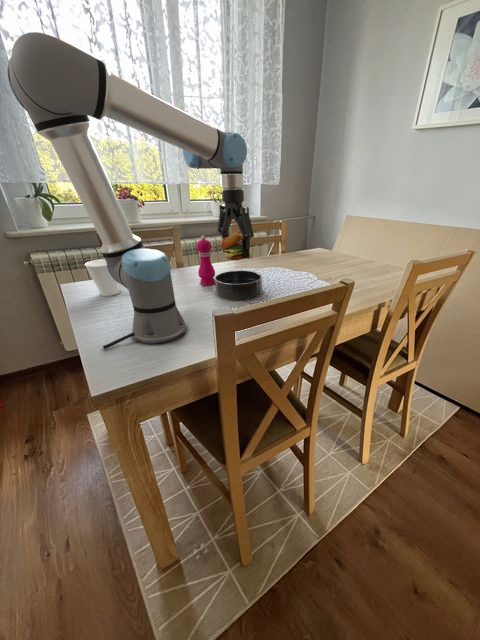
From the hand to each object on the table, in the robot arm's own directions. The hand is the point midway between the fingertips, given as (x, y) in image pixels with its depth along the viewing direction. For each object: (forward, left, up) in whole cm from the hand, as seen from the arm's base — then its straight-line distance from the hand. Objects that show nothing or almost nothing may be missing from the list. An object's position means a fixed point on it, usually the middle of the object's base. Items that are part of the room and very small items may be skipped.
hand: (236, 255), depth 111 cm
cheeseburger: (0, 0, -1) cm, 1 cm away
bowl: (0, 0, -15) cm, 15 cm away
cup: (-38, +36, -15) cm, 54 cm away
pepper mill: (-2, +19, -15) cm, 24 cm away
